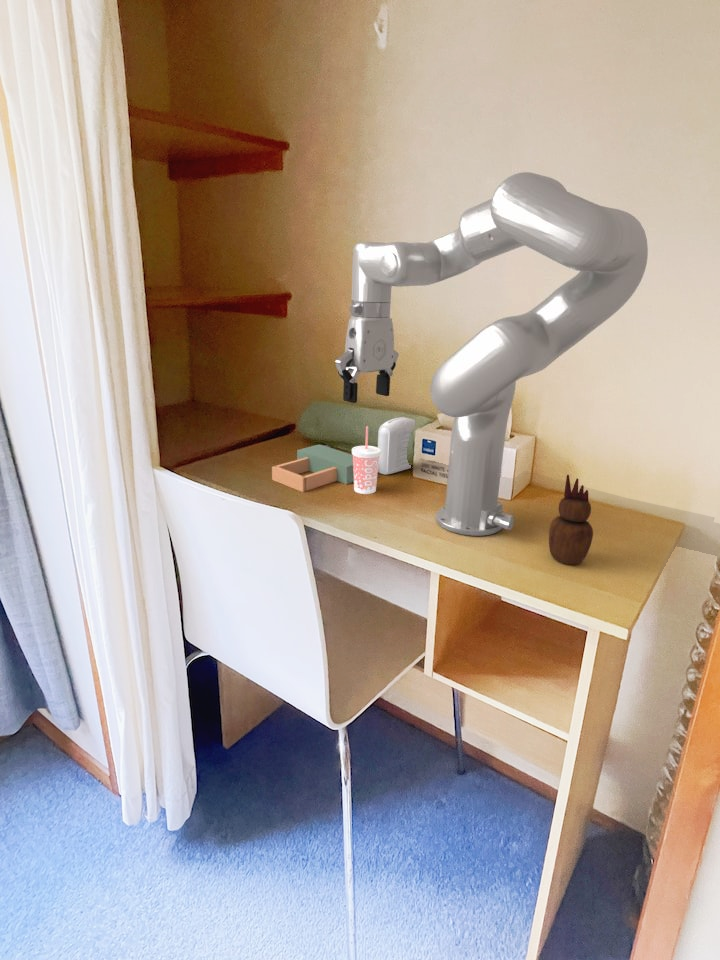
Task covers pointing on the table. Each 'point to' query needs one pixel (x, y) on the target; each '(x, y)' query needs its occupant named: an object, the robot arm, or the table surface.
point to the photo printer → (394, 445)
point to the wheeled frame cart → (315, 468)
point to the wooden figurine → (571, 527)
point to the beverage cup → (365, 467)
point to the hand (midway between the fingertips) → (366, 398)
